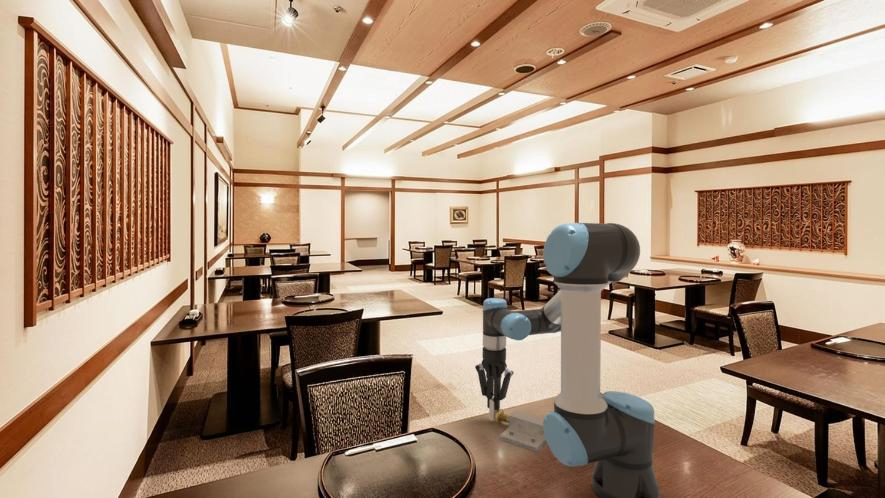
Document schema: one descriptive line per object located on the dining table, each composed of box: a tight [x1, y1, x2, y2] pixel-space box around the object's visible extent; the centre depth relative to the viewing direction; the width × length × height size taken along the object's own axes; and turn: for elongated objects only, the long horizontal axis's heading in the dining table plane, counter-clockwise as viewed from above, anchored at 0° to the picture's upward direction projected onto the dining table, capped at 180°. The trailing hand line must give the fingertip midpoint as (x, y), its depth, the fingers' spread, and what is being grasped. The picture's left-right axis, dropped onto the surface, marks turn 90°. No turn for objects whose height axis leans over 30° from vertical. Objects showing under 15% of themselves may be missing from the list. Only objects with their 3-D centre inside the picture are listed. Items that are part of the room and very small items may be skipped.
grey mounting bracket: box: [498, 409, 547, 453], centre depth 130 cm, size 12×17×5 cm
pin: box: [494, 408, 510, 424], centre depth 133 cm, size 13×4×4 cm, turn 54°
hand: (493, 418), depth 137 cm, fingers closed
